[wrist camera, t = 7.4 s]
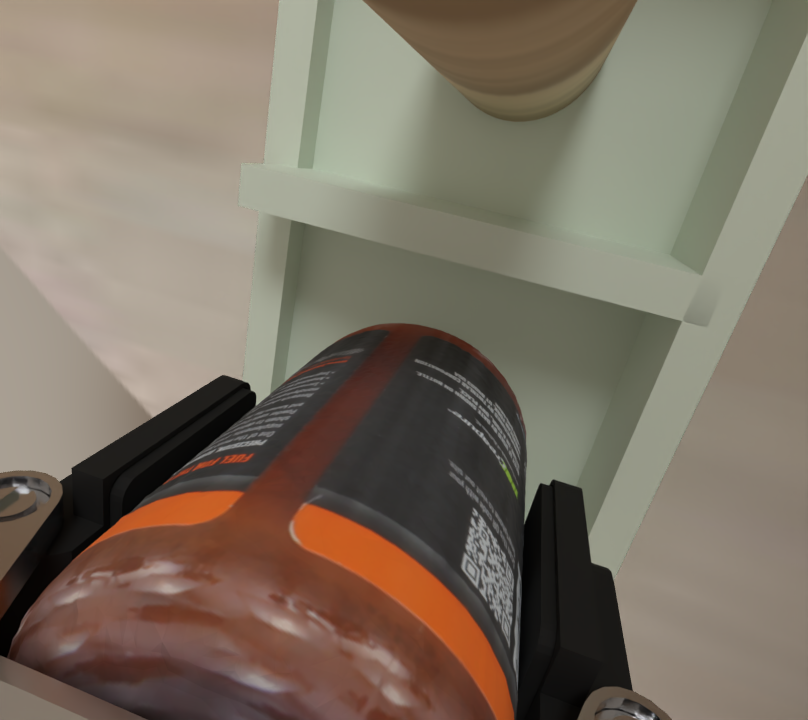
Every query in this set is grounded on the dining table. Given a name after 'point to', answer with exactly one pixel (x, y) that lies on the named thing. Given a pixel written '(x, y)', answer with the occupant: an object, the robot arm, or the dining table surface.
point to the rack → (535, 223)
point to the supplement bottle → (316, 554)
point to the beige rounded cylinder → (511, 47)
